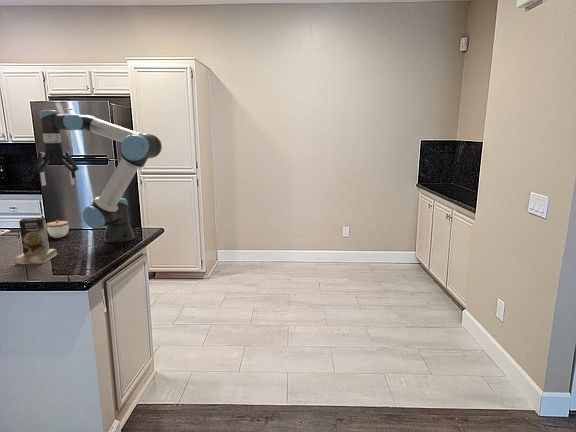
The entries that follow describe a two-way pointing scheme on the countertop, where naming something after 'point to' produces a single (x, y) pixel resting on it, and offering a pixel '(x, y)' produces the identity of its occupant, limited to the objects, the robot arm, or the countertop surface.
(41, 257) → the base block
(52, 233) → the lidded jar
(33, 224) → the coffee box
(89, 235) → the countertop surface
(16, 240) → the countertop surface
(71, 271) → the countertop surface
